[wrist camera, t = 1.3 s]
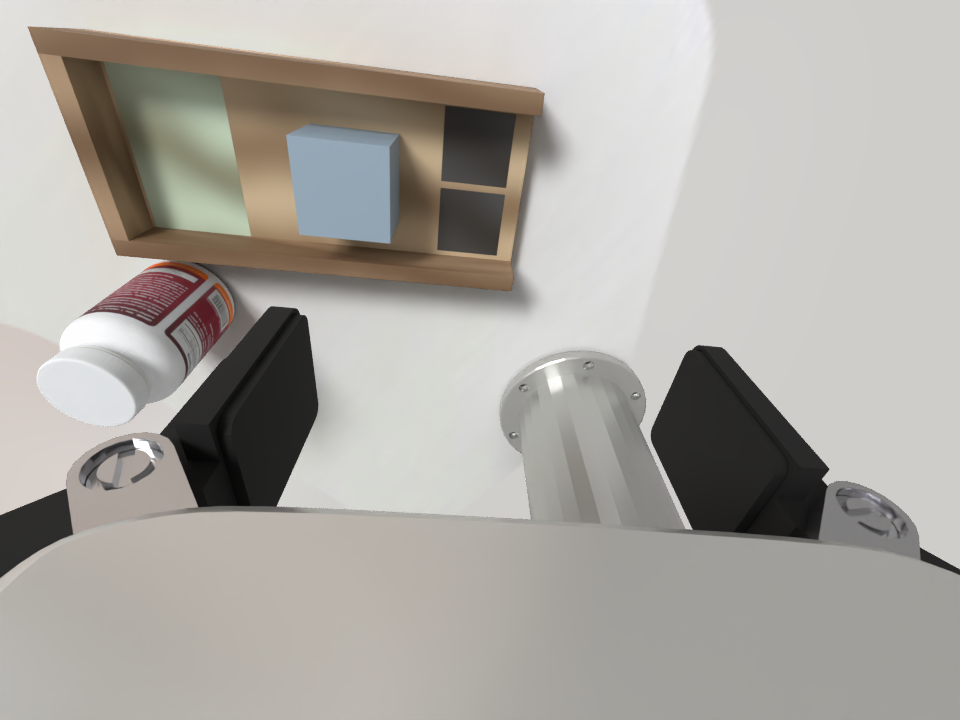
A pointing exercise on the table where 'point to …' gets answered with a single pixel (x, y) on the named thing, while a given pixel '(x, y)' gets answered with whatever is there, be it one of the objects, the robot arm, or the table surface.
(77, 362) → the pill bottle
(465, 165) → the box
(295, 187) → the block
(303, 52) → the table surface
